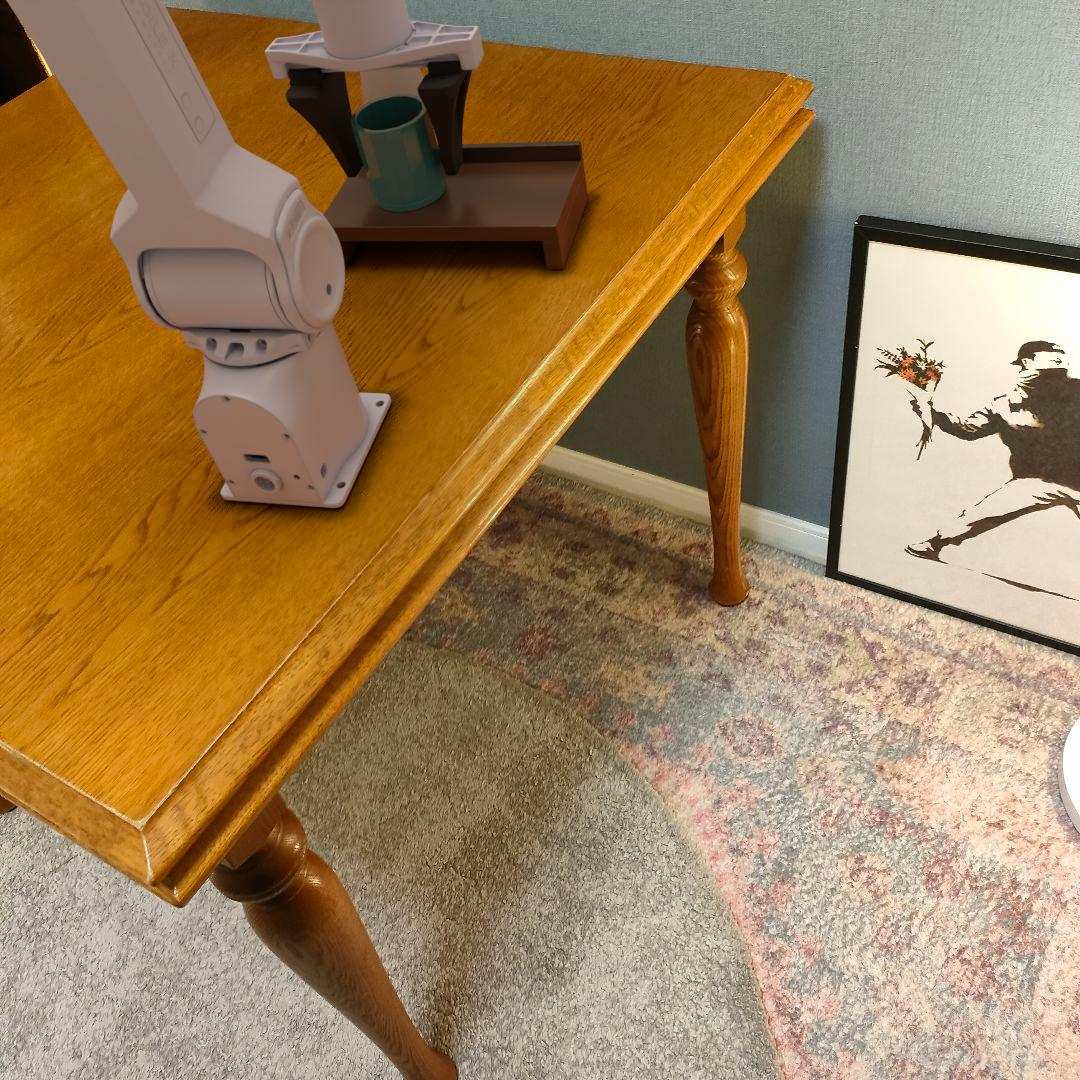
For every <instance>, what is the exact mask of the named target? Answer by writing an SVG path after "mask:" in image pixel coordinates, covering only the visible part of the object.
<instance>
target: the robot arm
mask: <svg viewBox="0 0 1080 1080" xmlns="http://www.w3.org/2000/svg"><path fill="white" fill-rule="evenodd" d="M6 2H7V3H8V6H10V9H11V10H12V11H13V13H14V14H15V16H16V18H17V19H18V21H19V22H20V23H21V25H22V27H23V28H24V30H25V31H26V33H27V34H28V36H29V37H30V39H31V41H32V43H33V44H34V45H35V47H36V48H37V50H38V52H39V53H40V55H41V56H42V58H43V60H44V61H45V62H46V64H47V66H48V67H49V69H50V70H51V72H52V73H53V74H54V77H56V79H57V81H58V82H59V84H60V86H61V87H62V88H63V90H64V92H65V93H66V95H67V96H68V98H69V99H70V101H71V102H72V104H73V106H74V107H75V108H76V110H77V111H78V114H79V115H80V117H81V118H82V120H83V121H84V122H85V124H86V126H87V127H88V129H89V130H90V132H91V133H92V135H93V136H94V138H95V140H96V141H97V142H98V144H99V146H100V147H101V149H102V150H103V152H104V154H105V155H106V156H107V158H108V160H109V161H110V163H111V164H112V166H113V168H114V169H115V170H116V172H117V173H118V175H119V176H120V178H121V179H122V181H123V182H124V184H125V186H126V187H127V190H126V191H125V193H124V194H123V196H122V197H121V199H120V201H119V203H118V206H117V207H116V210H115V212H114V215H113V219H112V225H111V229H110V234H109V239H110V241H111V243H112V244H113V245H114V246H115V248H116V250H117V251H118V253H119V254H120V256H121V258H122V259H123V261H124V263H125V266H126V268H127V270H128V273H129V277H130V283H131V286H132V290H133V292H134V294H135V297H136V299H137V301H138V303H139V305H140V307H141V309H142V310H143V312H144V313H145V314H146V316H147V317H148V318H149V319H150V320H151V321H152V322H153V323H154V324H156V325H157V326H159V327H161V328H164V329H166V330H170V331H171V330H172V331H179V332H180V334H181V336H182V338H183V340H184V342H185V344H186V346H187V348H190V349H195V350H199V351H200V352H202V358H203V365H204V366H203V381H202V385H201V389H200V392H199V395H198V397H197V399H196V402H195V404H194V407H193V411H192V419H193V424H194V427H195V430H196V432H197V433H198V435H199V437H200V439H201V441H202V443H203V444H204V446H205V448H206V450H207V451H208V453H209V455H210V457H211V458H212V460H213V462H214V464H215V465H216V468H217V469H218V471H219V473H220V475H221V476H222V478H223V480H224V484H223V486H222V487H221V489H220V492H219V493H220V496H221V497H222V499H223V500H226V501H235V502H248V503H249V502H250V503H262V504H273V505H290V506H291V505H292V506H300V507H301V506H303V507H314V508H315V507H316V508H329V509H337V508H340V507H342V506H343V505H344V504H345V503H346V500H347V499H348V496H349V494H350V492H351V490H352V488H353V486H354V484H355V481H356V480H357V477H358V475H359V473H360V471H361V469H362V467H363V464H364V463H365V461H366V458H367V456H368V453H369V452H370V449H371V448H372V445H373V443H374V441H375V438H376V437H377V435H378V432H379V430H380V428H381V426H382V425H383V424H382V423H383V421H384V419H385V417H386V415H387V413H388V411H389V409H390V407H391V404H392V398H391V395H390V394H388V393H384V392H383V393H381V392H380V393H379V392H359V389H358V386H357V384H356V381H355V378H354V376H353V373H352V371H351V367H350V366H349V363H348V360H347V357H346V354H345V352H344V350H343V349H344V348H343V347H342V344H341V342H340V339H339V336H338V333H337V331H336V328H335V326H334V323H333V320H334V318H335V316H336V315H337V314H338V311H339V310H340V307H341V305H342V302H343V299H344V293H345V286H346V285H345V284H346V266H345V265H344V257H343V252H342V248H341V245H340V242H339V239H338V237H337V235H336V233H335V231H334V229H333V228H332V226H331V225H330V223H329V222H328V220H327V219H326V218H325V216H324V213H322V212H321V211H320V210H318V209H317V208H316V207H315V206H313V204H312V203H311V202H310V200H309V199H308V197H307V195H306V194H305V191H304V190H303V187H302V186H301V184H300V181H299V179H298V178H297V177H296V176H295V175H293V174H292V173H290V172H288V171H287V170H284V169H283V168H281V167H280V166H277V165H275V163H272V162H270V161H268V160H267V159H264V158H262V157H260V156H258V155H256V154H255V153H252V152H251V151H249V150H247V149H246V148H243V146H240V145H239V144H237V143H236V142H235V140H234V138H233V135H232V134H231V132H230V130H229V128H228V126H227V124H226V122H225V120H224V118H223V116H222V114H221V112H220V110H219V108H218V106H217V105H216V102H215V101H214V98H213V97H212V95H211V92H210V90H209V89H208V87H207V85H206V82H205V81H204V79H203V77H202V75H201V73H200V72H199V70H198V67H197V65H196V63H195V62H194V59H193V58H192V55H191V53H190V52H189V49H188V48H187V46H186V44H185V42H184V40H183V39H182V36H181V35H180V33H179V30H178V29H177V26H176V24H175V23H174V21H173V19H172V17H171V14H170V12H169V10H168V9H167V7H166V5H165V3H164V1H163V0H6ZM311 3H312V6H313V9H314V12H315V16H316V19H317V23H318V26H319V29H320V30H317V31H313V32H308V33H303V34H298V35H291V36H283V37H282V36H281V37H275V38H274V39H273V40H272V42H271V43H270V44H269V45H268V47H267V48H266V49H265V50H264V54H265V57H266V59H267V63H268V66H269V68H270V71H271V74H272V77H273V79H274V80H286V79H287V80H288V79H289V82H288V84H289V88H288V89H287V90H286V92H285V93H284V94H285V99H286V102H287V103H288V105H289V107H290V108H292V109H293V110H294V111H295V112H296V113H298V114H299V115H300V116H301V117H302V118H303V119H304V120H305V121H306V122H307V123H309V125H310V126H311V127H312V128H313V129H314V130H315V131H316V132H317V134H318V135H319V136H320V138H322V140H323V141H324V143H325V144H326V145H327V147H328V149H329V150H330V151H331V153H332V154H333V156H334V158H335V159H336V161H337V163H338V164H339V166H340V167H341V169H342V171H343V173H344V174H345V175H346V178H347V177H348V178H355V177H356V176H357V174H358V173H359V171H360V170H361V168H362V167H363V162H362V159H361V156H360V152H359V149H358V146H357V142H356V139H355V136H354V133H353V129H352V126H351V117H352V116H353V113H352V108H351V103H350V99H349V98H350V97H349V92H348V86H347V79H346V73H360V72H365V71H371V70H384V69H404V68H420V69H421V68H427V72H428V73H426V74H425V75H424V76H423V77H424V78H423V80H422V82H421V83H420V85H419V86H418V88H417V90H418V94H419V96H420V98H421V100H422V102H423V104H424V106H425V108H426V110H427V113H428V115H429V117H430V120H431V123H432V125H433V129H434V133H435V137H436V141H437V145H438V147H439V152H440V156H441V161H442V165H443V168H444V170H445V173H446V175H447V176H455V175H457V173H458V171H459V169H460V167H461V165H462V163H463V149H462V144H463V131H464V130H463V129H464V117H465V109H466V101H467V95H468V91H469V86H470V81H471V77H472V73H473V71H476V70H477V69H478V67H479V65H480V64H481V62H482V61H483V58H484V56H485V53H484V47H483V42H482V37H481V32H480V27H479V25H453V24H445V23H435V22H434V23H433V22H428V21H420V20H412V19H411V18H410V15H409V10H408V6H407V1H406V0H311Z"/></svg>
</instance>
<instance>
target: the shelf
mask: <svg viewBox="0 0 1080 1080" xmlns="http://www.w3.org/2000/svg"><path fill="white" fill-rule="evenodd" d="M438 149H439V147H438ZM462 149H463V163H462V165H461V167H460V169H459V171H458V173H457V175H455V176H447V175H446V173H445V170H444V168H443V170H444V175H445V179H446V184H447V186H446V190H445V192H444V193H443V195H442V196H441V197H440V198H439V199H437V200H436V201H435V202H433V203H431V204H429V205H427V206H425V207H423V208H420V209H416V210H412V211H406V212H392V211H387V210H384V209H382V208H380V207H379V206H378V205H377V204H376V202H375V200H374V196H373V195H372V192H371V188H370V185H369V182H368V178H367V175H366V172H365V169H364V165H363V167H362V168H361V170H360V171H359V173H358V174H357V176H356V177H355V178H348V177H347V176H346V179H345V180H344V182H343V183H342V184H341V186H340V187H339V189H338V191H337V192H336V194H335V196H334V197H333V198H332V200H331V202H330V204H329V205H328V207H327V208H326V209H325V211H324V213H323V215H324V216H325V218H326V219H327V220H328V222H329V223H330V225H331V226H332V228H333V229H334V231H335V233H336V235H337V237H338V239H339V242H340V245H341V248H342V252H343V257H344V265H345V267H346V266H347V264H348V262H349V261H350V260H351V257H352V256H353V254H354V252H355V250H356V249H357V247H358V245H359V244H360V242H542V249H543V255H544V260H545V266H546V270H553V271H556V270H559V271H561V270H564V269H565V266H566V262H567V260H568V257H569V254H570V251H571V249H572V245H573V243H574V240H575V237H576V234H577V232H578V229H579V225H580V223H581V220H582V218H583V215H584V212H585V209H586V206H587V203H588V200H589V195H588V187H587V181H586V179H587V178H586V172H585V163H584V156H583V146H582V141H581V140H561V141H560V140H559V141H555V140H554V141H531V142H530V141H528V142H527V141H526V142H524V141H523V142H490V143H489V142H487V143H462ZM439 153H440V152H439ZM440 158H441V156H440ZM441 162H442V161H441ZM442 166H443V165H442Z"/></svg>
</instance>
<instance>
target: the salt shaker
mask: <svg viewBox="0 0 1080 1080" xmlns="http://www.w3.org/2000/svg"><path fill="white" fill-rule="evenodd" d="M359 75H360V76H359V78H360V85H361V86H360V87H361V94H362V95H361V96H362V106H363V105H364V104H366V103H368V102H370V101H373V100H375V99H377V98H380V97H384V96H388V95H393V94H413V95H418V96H419V94H418V90H417V88H418V86H419V85H420V83H421V82H422V80H423V78H424V77H425V76H424V75H423V73H422V71H421V68H404V69H384V70H371V71H365V72H359Z"/></svg>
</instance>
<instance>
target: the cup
mask: <svg viewBox="0 0 1080 1080" xmlns="http://www.w3.org/2000/svg"><path fill="white" fill-rule="evenodd" d="M351 126H352V129H353V133H354V136H355V139H356V142H357V146H358V149H359V152H360V156H361V159H362V162H363V165H364V169H365V172H366V175H367V178H368V182H369V185H370V188H371V192H372V195H373V196H374V200H375V202H376V204H377V205H378V206H379V207H380V208H382V209H384V210H387V211H392V212H406V211H412V210H416V209H420V208H423V207H425V206H427V205H429V204H431V203H433V202H435V201H436V200H437V199H439V198H440V197H441V196H442V195H443V193H444V192H445V190H446V186H447V184H446V179H445V175H444V170H443V166H442V162H441V158H440V153H439V149H438V142H437V138H436V134H435V131H434V128H433V125H432V123H431V120H430V117H429V115H428V113H427V110H426V108H425V106H424V104H423V102H422V100H421V98H420V96H418V95H413V94H393V95H388V96H384V97H380V98H377V99H375V100H373V101H370V102H368V103H366V104H364V105H363V104H362V105H361V106H360V107H359V108H357V109H356V110H355V111H354V112H353V113H352V117H351Z"/></svg>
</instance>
